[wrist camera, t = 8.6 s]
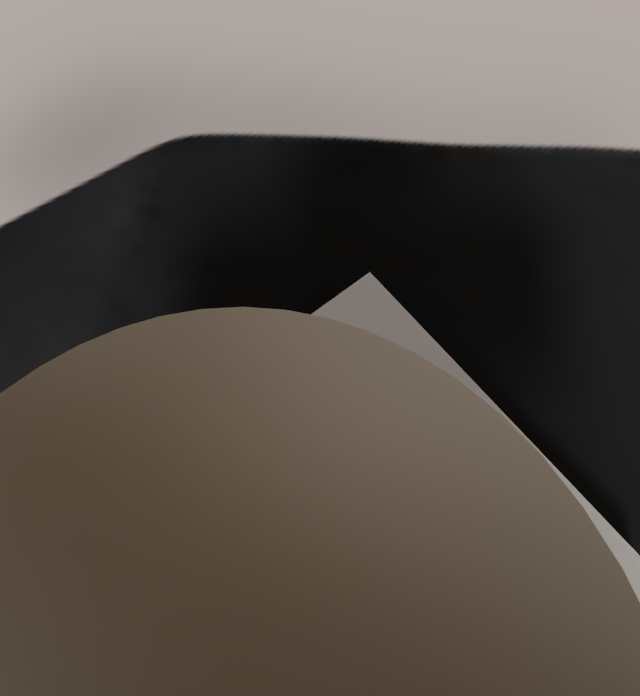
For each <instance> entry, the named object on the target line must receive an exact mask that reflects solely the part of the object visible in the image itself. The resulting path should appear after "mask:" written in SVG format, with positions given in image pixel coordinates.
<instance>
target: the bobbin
mask: <svg viewBox="0 0 640 696" xmlns="http://www.w3.org/2000/svg"><path fill="white" fill-rule="evenodd" d="M0 696H640V602H639V600H638V598H637V596H636V594H635V592H634V590H633V588H632V586H631V584H630V582H629V580H628V578H627V576H626V574H625V573H624V571H623V569H622V567H621V565H620V564H619V562H618V561H617V559H616V558H615V556H614V554H613V553H612V551H611V550H610V548H609V547H608V545H607V543H606V542H605V540H604V539H603V537H602V536H601V534H600V533H599V531H598V529H597V528H596V526H595V525H594V523H593V522H592V520H591V519H590V517H589V515H588V514H587V512H586V511H585V509H584V508H583V506H582V505H581V504H580V502H579V501H578V500H577V499H576V497H575V496H574V495H573V494H572V492H571V491H570V490H569V489H568V487H567V486H566V485H565V484H564V482H563V481H562V480H561V479H560V477H559V476H558V475H557V474H556V472H555V471H554V470H553V469H552V467H551V466H550V465H549V464H548V462H547V461H546V460H545V459H544V457H543V456H542V455H541V454H540V453H539V452H538V451H537V450H536V449H535V448H534V447H533V446H532V445H531V444H530V443H529V442H528V441H527V440H526V439H525V438H524V437H523V436H522V435H521V434H520V433H519V432H518V431H517V430H516V429H515V428H514V427H513V426H512V425H511V424H510V423H509V422H508V421H507V420H506V419H505V418H504V417H503V416H502V415H501V414H500V413H499V412H498V411H496V410H495V409H494V408H493V407H491V406H490V405H489V404H488V403H486V402H485V401H484V400H483V399H481V398H480V397H479V396H478V395H476V394H475V393H474V392H473V391H471V390H470V389H469V388H468V387H466V386H465V385H464V384H463V383H461V382H460V381H459V380H458V379H456V378H455V377H453V376H451V375H450V374H448V373H447V372H445V371H443V370H442V369H440V368H439V367H437V366H435V365H434V364H432V363H431V362H429V361H427V360H426V359H424V358H423V357H421V356H419V355H418V354H416V353H415V352H413V351H411V350H408V349H406V348H404V347H402V346H400V345H398V344H396V343H393V342H391V341H389V340H387V339H385V338H383V337H381V336H378V335H376V334H374V333H372V332H369V331H366V330H363V329H360V328H357V327H354V326H351V325H348V324H345V323H342V322H339V321H336V320H333V319H330V318H326V317H320V316H315V315H310V314H305V313H300V312H295V311H290V310H282V309H268V308H253V307H231V308H212V309H199V310H193V311H188V312H182V313H176V314H170V315H164V316H159V317H156V318H153V319H149V320H146V321H142V322H139V323H136V324H132V325H129V326H125V327H122V328H119V329H116V330H114V331H112V332H109V333H107V334H104V335H102V336H100V337H97V338H95V339H92V340H90V341H88V342H85V343H83V344H80V345H78V346H77V347H75V348H73V349H71V350H69V351H67V352H66V353H64V354H62V355H60V356H58V357H56V358H55V359H53V360H51V361H49V362H47V363H45V364H44V365H42V366H40V367H38V368H37V369H35V370H34V371H32V372H31V373H30V374H28V375H27V376H25V377H24V378H22V379H21V380H19V381H18V382H16V383H15V384H13V385H12V386H10V387H9V388H8V389H6V390H5V391H3V392H2V393H0Z"/></svg>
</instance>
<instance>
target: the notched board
mask: <svg viewBox="0 0 640 696" xmlns="http://www.w3.org/2000/svg"><path fill="white" fill-rule="evenodd" d="M311 315H315V316H320V317H326V318H330V319H333V320H336V321H339V322H342V323H345V324H348V325H351V326H354V327H357V328H360V329H363V330H366V331H369V332H372V333H374V334H376V335H378V336H381V337H383V338H385V339H387V340H389V341H391V342H393V343H396V344H398V345H400V346H402V347H404V348H406V349H408V350H411V351H413V352H415V353H416V354H418V355H419V356H421V357H423V358H424V359H426V360H427V361H429V362H431V363H432V364H434V365H435V366H437V367H439V368H440V369H442V370H443V371H445V372H447V373H448V374H450V375H451V376H453V377H455V378H456V379H458V380H459V381H460V382H461V383H463V384H464V385H465V386H466V387H468V388H469V389H470V390H471V391H473V392H474V393H475V394H476V395H478V396H479V397H480V398H481V399H483V400H484V401H485V402H486V403H488V404H489V405H490V406H491V407H493V408H494V409H495V410H496V411H498V412H499V413H500V414H501V415H502V416H503V417H504V418H505V419H506V420H507V421H508V422H509V423H510V424H511V425H512V426H513V427H514V428H515V429H516V430H517V431H518V432H519V433H520V434H521V435H522V436H523V437H524V438H525V439H526V440H527V441H528V442H529V443H530V444H531V445H532V446H533V447H534V448H535V449H536V450H537V451H538V452H539V453H540V454H541V455H542V456H543V457H544V459H545V460H546V461H547V462H548V464H549V465H550V466H551V467H552V469H553V470H554V471H555V472H556V474H557V475H558V476H559V477H560V479H561V480H562V481H563V482H564V484H565V485H566V486H567V487H568V489H569V490H570V491H571V492H572V494H573V495H574V496H575V497H576V499H577V500H578V501H579V502H580V504H581V505H582V506H583V508H584V509H585V511H586V512H587V514H588V515H589V517H590V519H591V520H592V522H593V523H594V525H595V526H596V528H597V529H598V531H599V533H600V534H601V536H602V537H603V539H604V540H605V542H606V543H607V545H608V547H609V548H610V550H611V551H612V553H613V554H614V556H615V558H616V559H617V561H618V562H619V564H620V565H621V567H622V569H623V571H624V573H625V574H626V576H627V578H628V580H629V582H630V584H631V586H632V588H633V590H634V592H635V594H636V596H637V598H638V600H639V602H640V556H639V554H638V553H637V552H636V551H635V550H634V549H633V548H632V547H631V546H630V545H629V544H628V543H627V542H626V541H625V540H624V539H623V538H622V537H621V536H620V534H619V533H618V532H617V531H616V530H615V529H614V528H613V527H612V526H611V525H610V524H609V523H608V522H607V521H606V520H605V519H604V518H603V517H602V516H601V515H600V513H599V512H598V511H597V510H596V509H595V508H594V507H593V506H592V505H591V504H590V503H589V502H588V501H587V500H586V499H585V498H584V497H583V496H582V495H581V494H580V492H579V491H578V490H577V489H576V488H575V487H574V486H573V485H572V484H571V483H570V482H569V481H568V480H567V479H566V478H565V477H564V476H563V475H562V474H561V472H560V471H559V470H558V469H557V468H556V467H555V466H554V465H553V464H552V463H551V462H550V461H549V460H548V459H547V458H546V457H545V456H544V455H543V454H542V453H541V451H540V450H539V449H538V448H537V447H536V446H535V445H534V444H533V443H532V442H531V441H530V440H529V439H528V438H527V437H526V436H525V435H524V434H523V433H522V431H521V430H520V429H519V428H518V427H517V426H516V425H515V424H514V423H513V422H512V421H511V420H510V419H509V418H508V417H507V416H506V415H505V414H504V413H503V412H502V410H501V409H500V408H499V407H498V406H497V405H496V404H495V403H494V402H493V401H492V400H491V399H490V398H489V397H488V396H487V395H486V394H485V393H484V392H483V391H482V389H481V388H480V387H479V386H478V385H477V384H476V383H475V382H474V381H473V380H472V379H471V378H470V377H469V376H468V375H467V374H466V373H465V372H464V371H463V369H462V368H461V367H460V366H459V365H458V364H457V363H456V362H455V361H454V360H453V359H452V358H451V357H450V356H449V355H448V354H447V353H446V352H445V351H444V350H443V348H442V347H441V346H440V345H439V344H438V343H437V342H436V341H435V340H434V339H433V338H432V337H431V336H430V335H429V334H428V333H427V332H426V331H425V330H424V329H423V327H422V326H421V325H420V324H419V323H418V322H417V321H416V320H415V319H414V318H413V317H412V316H411V315H410V314H409V313H408V312H407V311H406V310H405V309H404V307H403V306H402V305H401V304H400V303H399V302H398V301H397V300H396V299H395V298H394V297H393V296H392V295H391V294H390V293H389V292H388V291H387V290H386V289H385V288H384V286H383V285H382V284H381V283H380V282H379V281H378V280H377V279H376V278H375V277H374V276H373V275H372V274H371V273H370V272H369V273H368V274H366V275H365V276H364V277H362V278H361V279H359V280H358V281H357V282H355V283H354V284H352V285H351V286H350V287H348V288H347V289H345V290H344V291H343V292H341V293H340V294H339V295H337V296H336V297H334V298H333V299H332V300H330V301H329V302H327V303H326V304H325V305H323V306H322V307H320V308H319V309H318V310H316V311H315V312H314V313H312V314H311Z"/></svg>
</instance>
